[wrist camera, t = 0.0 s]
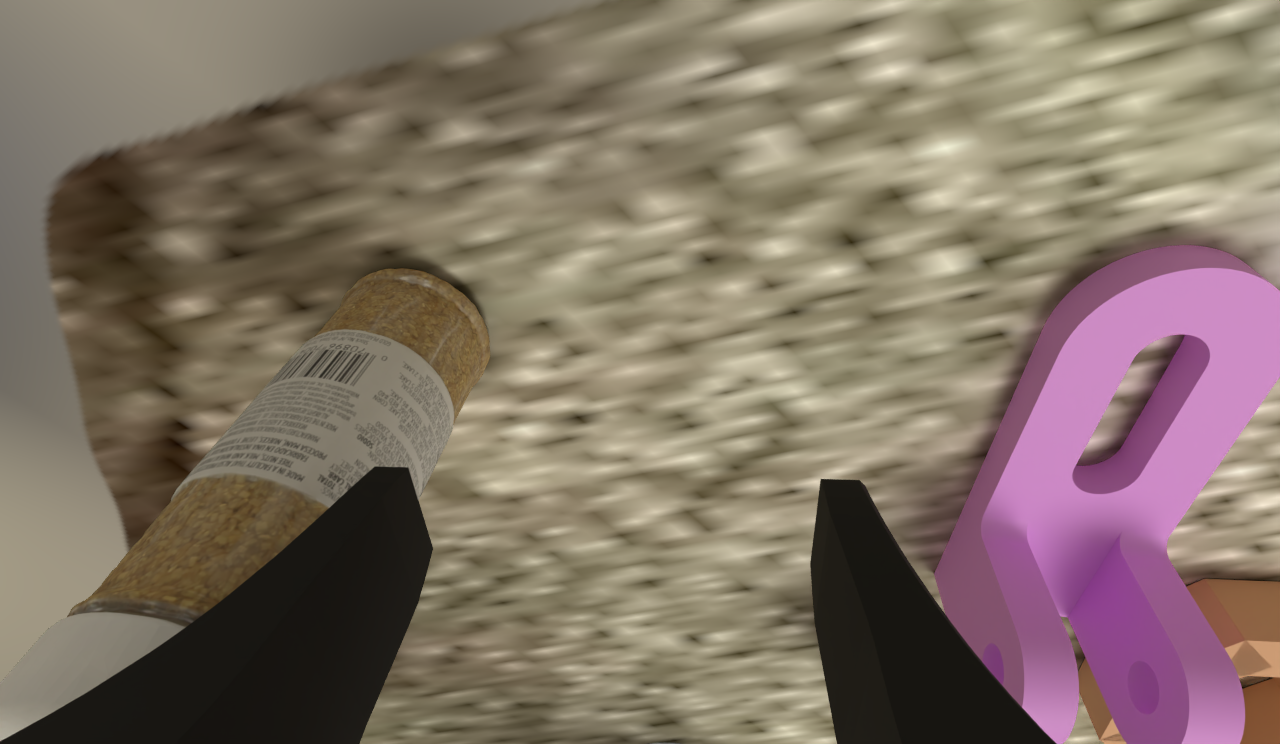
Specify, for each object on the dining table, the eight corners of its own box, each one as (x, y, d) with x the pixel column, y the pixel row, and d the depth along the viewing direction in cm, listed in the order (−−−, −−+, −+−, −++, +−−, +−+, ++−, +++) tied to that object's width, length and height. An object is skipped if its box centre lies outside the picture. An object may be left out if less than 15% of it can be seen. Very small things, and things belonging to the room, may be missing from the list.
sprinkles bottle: (355, 376, 24) (15, 839, 13) (337, 247, 21) (-114, 700, 10) (496, 401, 23) (274, 891, 13) (497, 275, 21) (215, 763, 10)
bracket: (1093, 588, 26) (1195, 793, 20) (933, 570, 26) (989, 768, 21) (1308, 254, 19) (1564, 431, 13) (1081, 232, 19) (1234, 397, 13)
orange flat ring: (1285, 729, 29) (1326, 792, 27) (1056, 715, 30) (1079, 775, 28) (1403, 586, 24) (1462, 650, 22) (1125, 575, 25) (1158, 636, 23)
